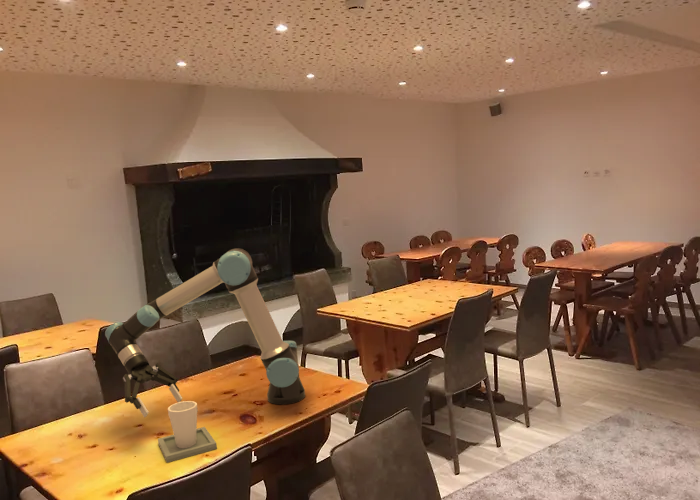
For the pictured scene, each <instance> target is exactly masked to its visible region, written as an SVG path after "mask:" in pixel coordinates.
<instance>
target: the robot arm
mask: <svg viewBox="0 0 700 500" xmlns="http://www.w3.org/2000/svg"><path fill="white" fill-rule="evenodd" d="M258 281H259V277H258V275H257V273H256V271H255V269H254V267H253V259H252V257H251V255H250V253H249V252H248V251H246V250H244V249H243V248H239V247H238V248H232V249H229V250H228V251H226V252H225V253H223V255H221V256H220V258H217V260H215V261H213V263H212V265H211V266H210V267H208V268H206V269H205V270H203V271H201V272H199V273H198V274H196V275H194V276H193V277H191V278H189V279H188V280H185V281H184V282H182V283H181V284H179V285H177V286H176V287H174V288H173V289H170V290H169V291H167V292H166V293H164V294H162V295H160V296H159V297H157V298H156V299H154V300H152V301H151V302H148V303H146V304H145V305H143V306H141V307H140V308H139V309H138V310H136V312H135V313H134V314H133V315H132V316H130V317H129V318H128V319H127V320H126V321H125V322H124V323H123V322H122V321H118V322H115V323H113V324H111V325H109V326H108V327H107V328H106V330H105V331H104V336H105V338H106V339H107V341H108V344H109V345H110V346H111V348H112V349H113V351H114V352H115V354H116V356H117V357H118V359H119V360H120V362H121V363H122V365H123V366H124V368H125V370H126V372H127V373H125V374H124V375H123V377H122V382H123V384H124V385H123V386H124V402H125V403H126V404H127V403H130V404H133V405H134V408H135V409H137V410H139V412H140V413H141V415H142V417H143V418H146V417H147V416H148V414H149V413H150V412H149V410H148V409H147V407H146V405H145V403H144V401H143V400H142V399H141V397H140V396H138V393H139V388H140V384H144V383H146V382H150V381H155V382H157V383H159V384H162V385H165V386H167V387H169V388H168V390H169V391H170V393H171V394H172V396H173V397H174V399H175V401H176V403H178V402H182V400H183V397H182V395H181V393H180V389H179V387H178V385H177V383H178V381H179V377H177V376H175V375H174V374H173V373H171V372H170V371H169V370H166V369H165V368H163V367H162V366H161V365H160V363H158V362H157V363H155V365H153V366H152V365H150V362H149V361H148V359H147V358H146V356H145V355H144V353H143V351H142V350H141V348H140V346H139V345H138V344H137V342H136V341H137V340H138V339H139V338H140V337H141V336H142V335H144V334H145V333H146V332H147V331H148V330H149V329H151V328H152V327H153V326H155V324H156V323H157V322H159V321H160V320H161V319H163V318H165V317H166V316H168V315H170V314H172V313H173V312H175V311H177V310H178V309H180V308H182V307H183V306H185V305H186V304H188V303H190V302H193V300H195V299H197V298H199V297H200V296H202V295H204V294H206V293H207V292H209V291H210V290H212V289H214V288H216V287H218V286H219V285H220V284H223V283H224V284H225V287H226V289H227V291H228V292H229V294H234V295H235V298H236V300H237V302H238V303H239V304H238V305H239V306H240V308H241V311H242V313H243V315H244V317H245V319H246V321H247V323H248V325H249V327H250V329H251V331H252V334H253V336H254V339H255V340H256V342H257V345H258V346H259V349H260V352H261V354H260V356H259V357H260V360H261V362H262V365H263V367H264V370H265V371H266V373H265V375H266V377H267V380H268V382H269V386H268V389H267V394H266V397H267V401H268V403H269V404H273V405H289V404H294V403H297V402H300V401H302V400H303V399H304V398H305V397H306V390H305V388H304V387H305V386H304V385H303V383H302V381H301V378H300V368H299V360H298V346H297V342H296V341H295V340H283V338H282V337H281V334H280V333H279V330H278V328H277V326H276V324H275V321H274V319H273V317H272V315H271V313H270V311H269V309H268V307H267V305H266V302H265V301H264V298H263V296H262V294H261V292H260V290H259V288H258V285H257V284H258ZM131 380H133V381H134V384H133V385H134V386H133V390H131ZM131 391H132V393H131ZM131 394H132V395H131Z"/></svg>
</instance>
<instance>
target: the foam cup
mask: <svg viewBox="0 0 700 500" xmlns="http://www.w3.org/2000/svg"><path fill="white" fill-rule="evenodd" d="M167 412H168V413H167V414H168V417H169V420H170V425H171V429H172V432H173V435H174V437H175V441H176V445H177V447H179V448H187V447H190V446H193V445H194V444H195V443H196V432H197V429H198V428H197V427H198V426H197V423H198V412H199V411H198V403H197V402H196V401H193V400H187V401H186V400H185V401H184V400H183V401H182V400H181V402H175V403H173V404H171V405H170V406H168V407H167Z"/></svg>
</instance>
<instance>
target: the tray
mask: <svg viewBox="0 0 700 500" xmlns="http://www.w3.org/2000/svg"><path fill="white" fill-rule="evenodd" d="M157 444H158V446H159V448H160V449H159V450H160V451H161V453H162V455H163V458H164V460H165V461H166V463H167V464H168V463H171V462H175V461H177V460H182V459H185V458H189V457H193V456H196V455H200V454H203V453H207V452H210V451H215V450H217V449H218V447H217V442H216V441H215V439H214V438H213V436H212V435H211V433H210V432H209V431H208V429H207V428H206V427H205V426H202V427H198V428H197V432H196V443H195V444H194V445H193V446H190V447H187V448H179V447H177V445H176V441H175V437H174V434H170V435H167V436H163V437H159V438H157Z"/></svg>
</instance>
